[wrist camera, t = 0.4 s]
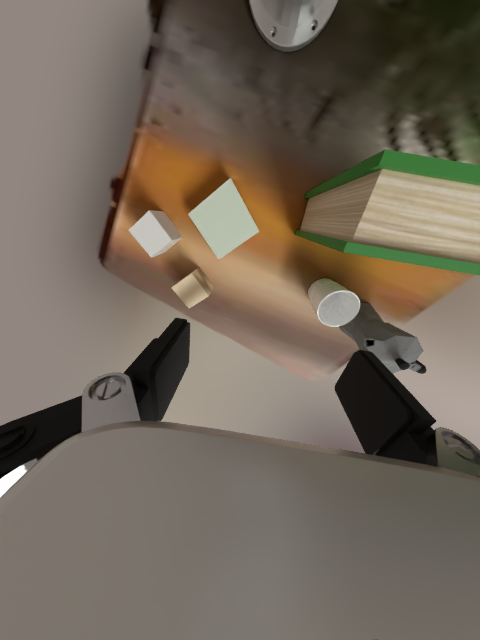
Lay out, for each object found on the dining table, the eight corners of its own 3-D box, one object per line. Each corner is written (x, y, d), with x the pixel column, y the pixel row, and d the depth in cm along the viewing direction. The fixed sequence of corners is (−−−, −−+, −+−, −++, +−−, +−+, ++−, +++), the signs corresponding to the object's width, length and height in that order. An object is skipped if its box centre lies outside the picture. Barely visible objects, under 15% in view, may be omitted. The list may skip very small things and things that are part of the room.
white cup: (346, 287, 43) (369, 304, 34) (321, 311, 46) (337, 333, 37) (321, 269, 41) (339, 282, 32) (298, 295, 44) (308, 313, 36)
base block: (194, 214, 38) (188, 214, 34) (232, 181, 35) (230, 177, 31) (221, 256, 42) (218, 259, 38) (258, 230, 38) (259, 231, 35)
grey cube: (145, 228, 40) (128, 230, 34) (163, 211, 38) (149, 210, 33) (164, 252, 42) (151, 257, 37) (182, 237, 40) (171, 240, 35)
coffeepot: (321, 320, 47) (354, 370, 32) (347, 290, 43) (400, 331, 27) (367, 343, 50) (418, 400, 34) (395, 317, 45) (469, 369, 30)
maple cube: (181, 279, 45) (171, 287, 40) (199, 266, 43) (191, 273, 38) (196, 298, 47) (189, 308, 42) (214, 287, 45) (208, 296, 40)
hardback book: (294, 234, 38) (343, 252, 17) (306, 192, 34) (385, 149, 13) (376, 248, 38) (522, 282, 17) (396, 207, 34) (613, 188, 14)
